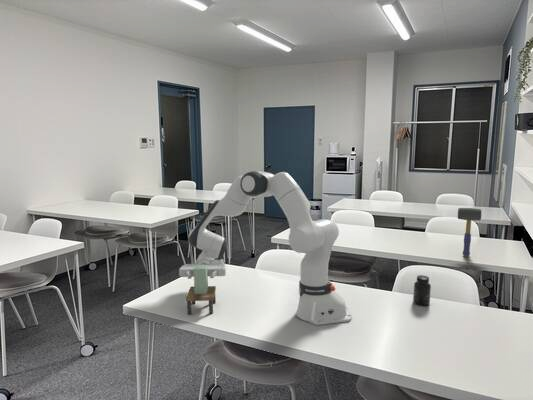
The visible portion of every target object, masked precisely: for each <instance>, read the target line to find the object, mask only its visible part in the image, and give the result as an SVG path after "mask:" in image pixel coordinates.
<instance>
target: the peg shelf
mask: <svg viewBox="0 0 533 400" xmlns="http://www.w3.org/2000/svg"><path fill="white" fill-rule="evenodd" d="M216 287H217V286H216V285H214V286H213V285H210V286H209V285H208V291H207V294H195V290H194V286H189V289H188V293H187V294H186V297H185V301H186V309H187V310H186V311H187V315H188V316H189V315H191V314H192V305H195V304H196V302H203V301H204V302H205V301H207V302H208V313H209V314H208V315H213V314H214V305H215V304H216V290H217V288H216Z"/></svg>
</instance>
